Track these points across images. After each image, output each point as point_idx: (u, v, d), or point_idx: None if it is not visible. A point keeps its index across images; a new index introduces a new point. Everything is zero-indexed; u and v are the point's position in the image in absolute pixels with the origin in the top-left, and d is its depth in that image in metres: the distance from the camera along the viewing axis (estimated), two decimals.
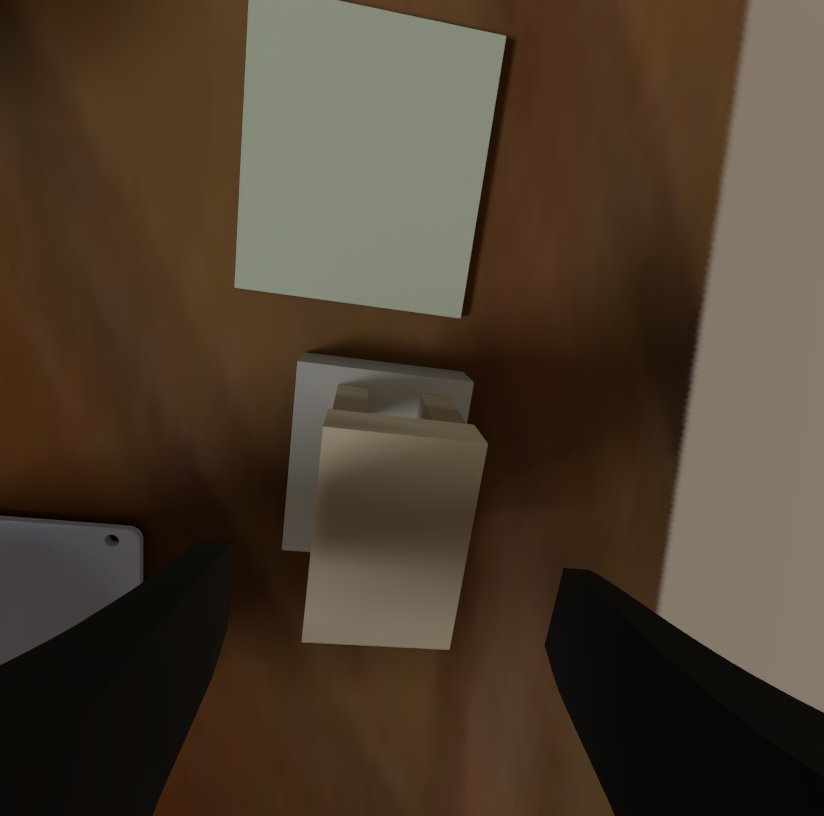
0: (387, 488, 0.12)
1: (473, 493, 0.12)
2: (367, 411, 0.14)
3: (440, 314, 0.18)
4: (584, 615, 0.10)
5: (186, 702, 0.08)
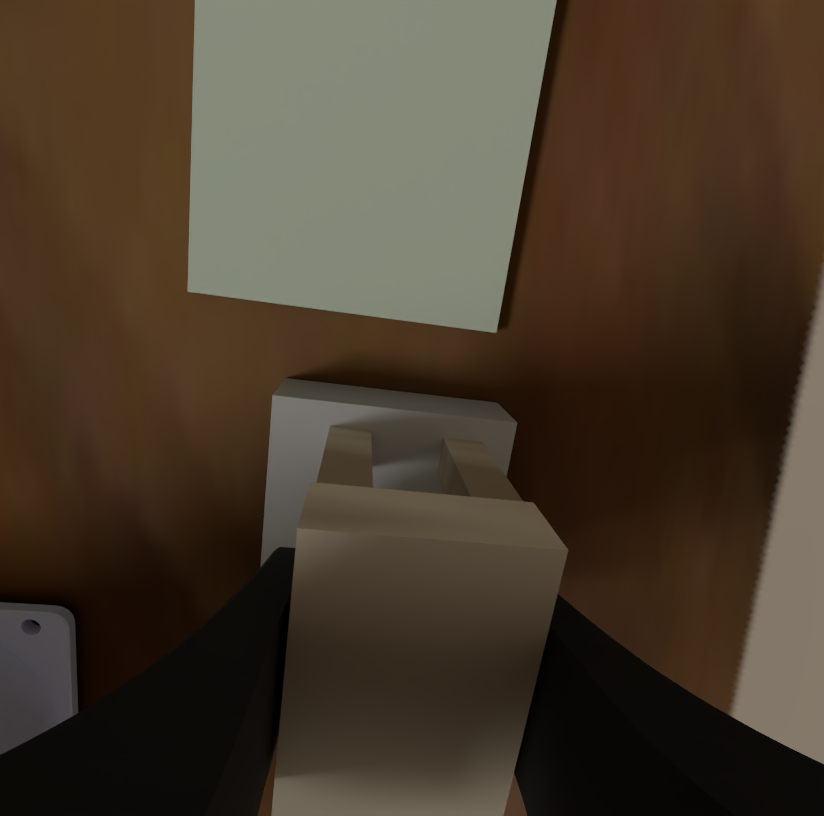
0: (404, 621, 0.07)
1: (541, 625, 0.08)
2: (371, 480, 0.09)
3: (469, 327, 0.13)
4: None
5: (279, 706, 0.08)
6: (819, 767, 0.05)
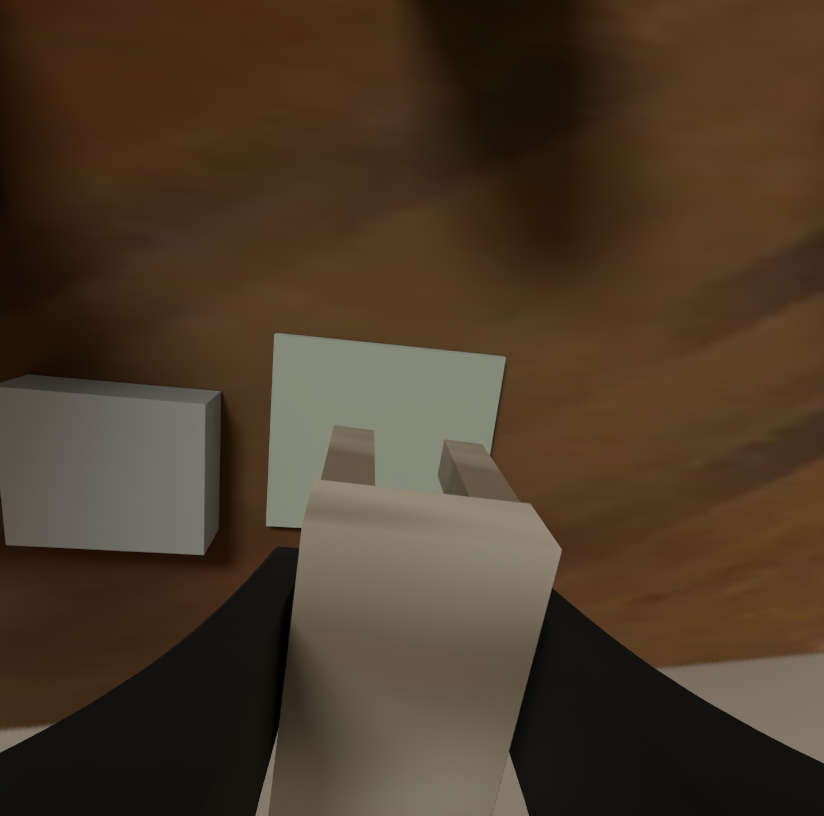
0: (402, 614, 0.08)
1: (534, 621, 0.08)
2: (373, 479, 0.09)
3: (267, 509, 0.20)
4: None
5: (277, 705, 0.08)
6: (821, 767, 0.05)
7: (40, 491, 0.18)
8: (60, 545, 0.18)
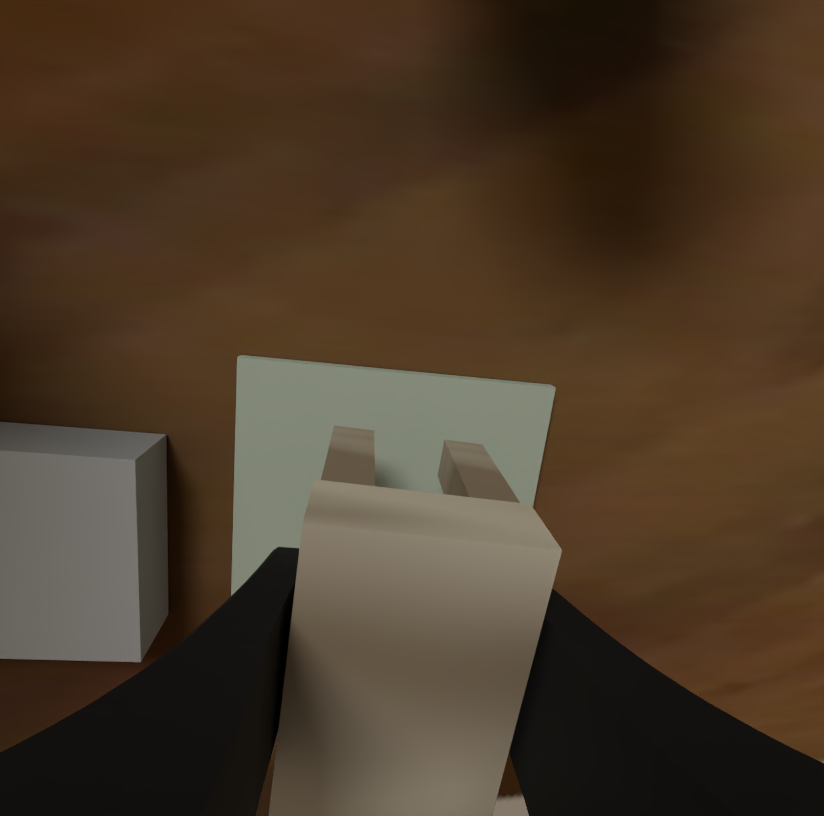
0: (402, 615, 0.08)
1: (534, 622, 0.08)
2: (373, 479, 0.09)
3: (232, 590, 0.15)
4: None
5: (278, 706, 0.08)
6: (821, 767, 0.05)
7: None
8: None
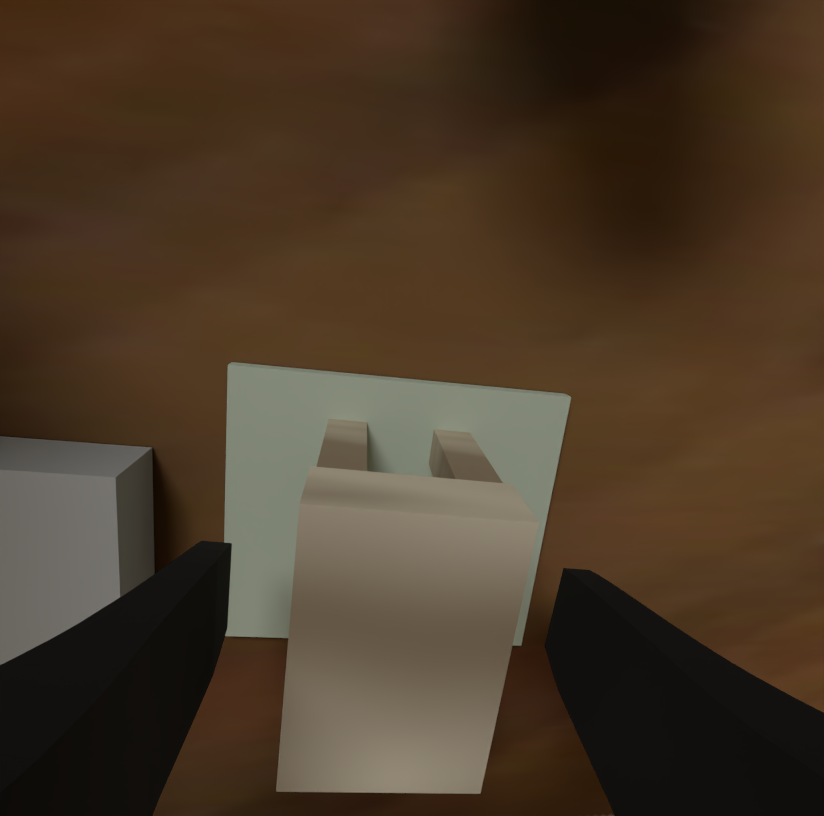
0: (394, 586, 0.08)
1: (516, 590, 0.09)
2: (365, 465, 0.10)
3: None
4: (584, 615, 0.10)
5: (187, 702, 0.08)
6: None
7: None
8: None
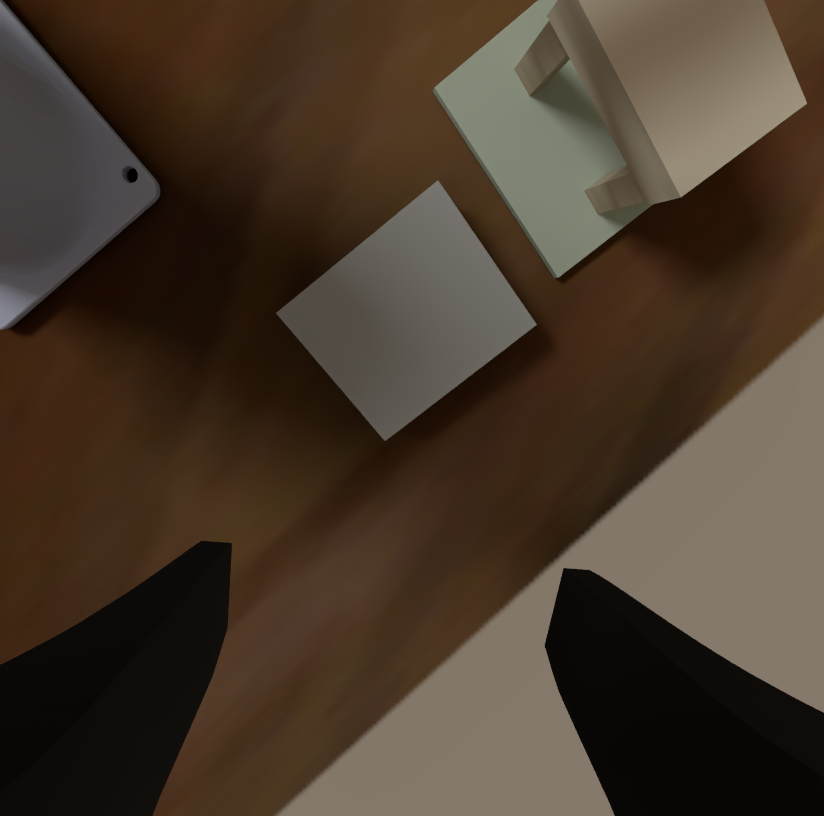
0: None
1: None
2: None
3: (548, 260, 0.19)
4: (584, 615, 0.10)
5: (186, 703, 0.08)
6: None
7: (375, 373, 0.18)
8: (423, 408, 0.18)
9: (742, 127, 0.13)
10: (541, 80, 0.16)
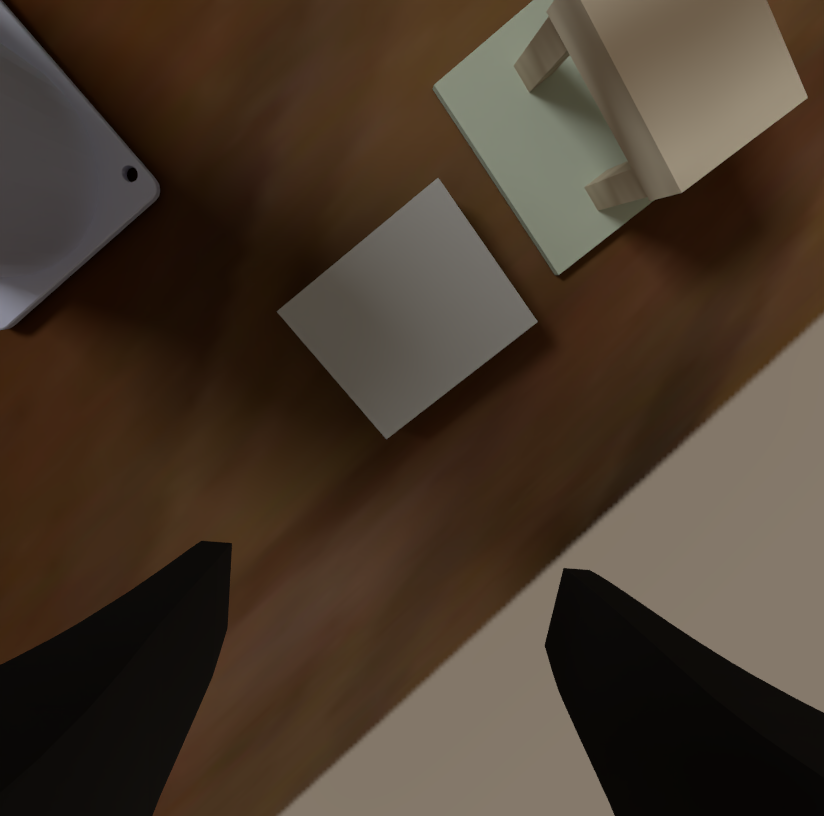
0: None
1: None
2: None
3: (549, 258, 0.19)
4: (584, 615, 0.10)
5: (186, 703, 0.08)
6: None
7: (376, 371, 0.18)
8: (424, 406, 0.18)
9: (743, 122, 0.13)
10: (541, 76, 0.16)
